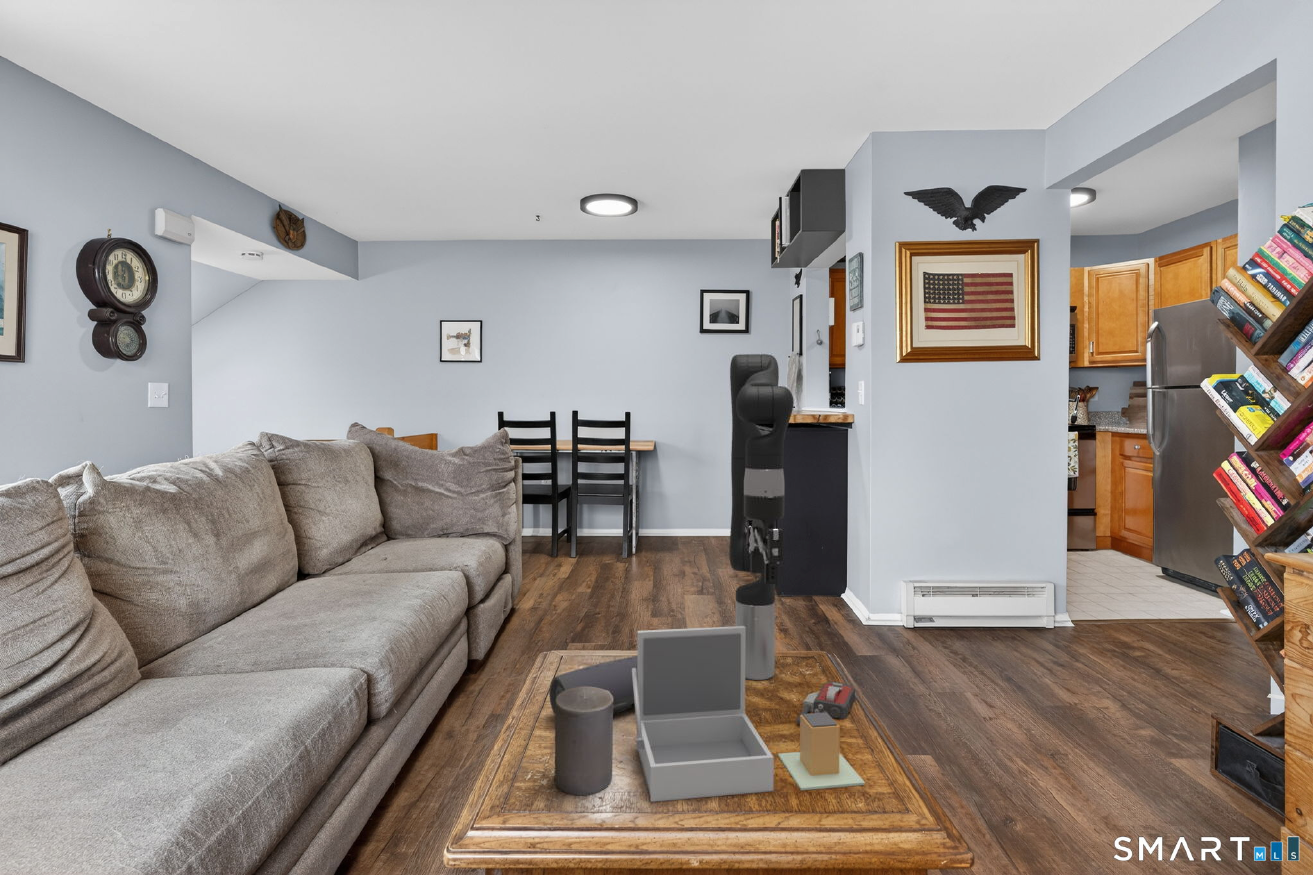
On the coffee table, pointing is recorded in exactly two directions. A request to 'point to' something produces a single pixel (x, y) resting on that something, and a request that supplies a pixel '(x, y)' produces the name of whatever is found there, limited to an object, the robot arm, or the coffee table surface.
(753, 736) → the equipment case
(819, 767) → the block
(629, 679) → the bluetooth speaker
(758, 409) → the robot arm
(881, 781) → the coffee table surface
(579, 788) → the pillar candle
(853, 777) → the pad
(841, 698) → the walkie-talkie
